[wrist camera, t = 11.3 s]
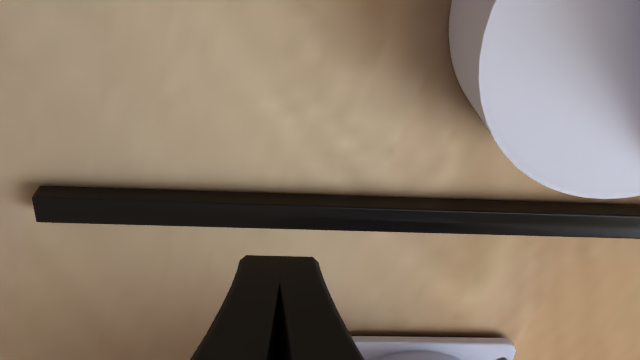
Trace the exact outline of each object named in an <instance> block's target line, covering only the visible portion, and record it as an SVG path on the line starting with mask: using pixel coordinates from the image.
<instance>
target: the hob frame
mask: <svg viewBox="0 0 640 360" xmlns="http://www.w3.org/2000/svg"><path fill="white" fill-rule="evenodd" d="M32 201H33V206H34V211H35V216H36V221H37V222H52V223H89V224H125V225H161V226H198V227H234V228H270V229H307V230H343V231H380V232H416V233H452V234H489V235H525V236H562V237H598V238H634V239H640V205H625V204H594V203H563V202H531V201H500V200H469V199H438V198H406V197H375V196H344V195H312V194H281V193H250V192H218V191H187V190H156V189H124V188H93V187H62V186H39V188H38V189H37V191H36V192H35V194H34V195H33V197H32Z"/></svg>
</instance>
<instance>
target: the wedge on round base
mask: <svg viewBox="0 0 640 360" xmlns="http://www.w3.org/2000/svg"><path fill="white" fill-rule="evenodd" d="M449 46H450V54H451V60H452V64H453V67H454V71H455V74H456V77H457V79H458V82H459V84H460V86H461V88H462V90H463V92H464V94H465V95H466V97H467V98H468V100H469V101H470V103H471V104H472V106H473V108H474V109H475V111H476V112H477V114H478V115H479V117H480V118H481V120H482V121H483V123H484V124H485V126H486V127H487V129H488V130H489V132H490V133H491V135H492V137H493V138H494V140H495V141H496V143H497V144H498V145H499V147H500V148H501V150H502V151H503V153H504V154H505V156H506V157H507V158H508V159H509V160H510V161H511V162H512V163H513V164H514V165H515V166H516V167H517V168H518V169H519V170H521V171H522V172H523V173H525V174H526V175H527V176H529V177H530V178H531V179H533V180H535V181H537V182H539V183H541V184H542V185H544V186H546V187H548V188H551V189H554V190H557V191H559V192H562V193H565V194H569V195H574V196H580V197H585V198H598V199H614V198H628V197H634V196H640V0H452V4H451V10H450V17H449Z"/></svg>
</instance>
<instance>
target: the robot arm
mask: <svg viewBox="0 0 640 360" xmlns="http://www.w3.org/2000/svg"><path fill="white" fill-rule="evenodd" d="M514 355H515V347H514V345H513V343H512V341H511V340H509V339H507V338H467V337H396V336H351V335H350V333H349V331H348V330H347V328H346V326H345V324H344V322H343V320H342V319H341V317H340V315H339V313H338V311H337V309H336V306H335V304H334V302H333V300H332V298H331V296H330V293H329V291H328V289H327V286H326V284H325V281H324V279H323V276H322V273H321V270H320V267H319V263H318V262H317V261H316V260H315V259H314V258H313V257H292V256H251V255H246V256H245V257H244V258H242V259H241V260H240V262H239V266H238V269H237V272H236V275H235V278H234V280H233V283H232V285H231V287H230V289H229V292H228V294H227V296H226V298H225V300H224V302H223V304H222V306H221V308H220V310H219V312H218V314H217V315H216V317H215V319H214V321H213V323H212V324H211V326H210V328H209V330H208V332H207V334H206V335H205V337H204V339H203V340H202V342H201V343H200V345H199V347H198V348H197V350H196V351H195V353H194V354H193V356H192V357H191V359H190V360H513V358H514ZM501 357H502V358H501ZM498 358H500V359H498Z"/></svg>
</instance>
